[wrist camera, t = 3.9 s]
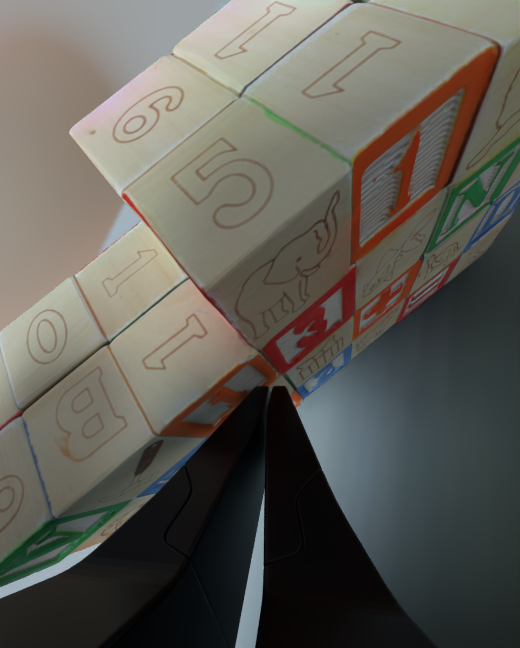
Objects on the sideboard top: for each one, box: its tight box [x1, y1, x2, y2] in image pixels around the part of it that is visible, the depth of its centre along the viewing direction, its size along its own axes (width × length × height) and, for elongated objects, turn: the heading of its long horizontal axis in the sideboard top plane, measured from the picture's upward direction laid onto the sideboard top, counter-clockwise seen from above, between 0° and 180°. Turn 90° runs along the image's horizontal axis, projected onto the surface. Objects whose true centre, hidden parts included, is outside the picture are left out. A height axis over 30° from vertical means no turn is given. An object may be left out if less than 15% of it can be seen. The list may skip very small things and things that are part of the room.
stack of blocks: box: [0, 0, 520, 587], centre depth 11 cm, size 21×6×12 cm, turn 128°
